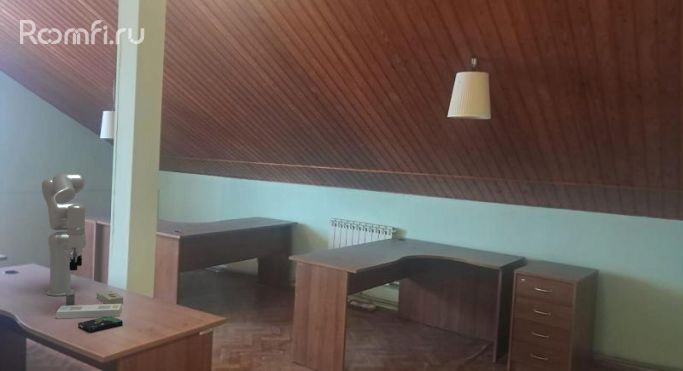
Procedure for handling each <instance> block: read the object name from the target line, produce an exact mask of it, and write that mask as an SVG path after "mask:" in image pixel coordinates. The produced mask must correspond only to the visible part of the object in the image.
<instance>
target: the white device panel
mask: <svg viewBox="0 0 683 371" xmlns="http://www.w3.org/2000/svg"><path fill="white" fill-rule="evenodd" d="M122 306H123V305H122V304H104V303H102V304H76V305H70V306H66V305H60V307H59V308H58V309H57V311H56V318H55V319H58V320H59V319H85V318H103V317H109V316H112V317H120V315H121V312H122V309H123V308H122Z"/></svg>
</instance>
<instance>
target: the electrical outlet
mask: <svg viewBox="0 0 683 371" xmlns="http://www.w3.org/2000/svg"><path fill="white" fill-rule="evenodd" d="M96 299H97V300H98V301H100V302H101V303H102V302H103V303H102V304H122V306H123V305H124V297H123V296H122V295H120V294H119V293H118V292H115V291H112V290H109V291H108V290H107V291H99V292H97V291H96Z"/></svg>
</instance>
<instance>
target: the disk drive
mask: <svg viewBox="0 0 683 371" xmlns="http://www.w3.org/2000/svg"><path fill="white" fill-rule="evenodd" d="M123 324H124V322H123V320H122V319H120V318H116V317H115V316H113V317H112V316H109V317H97V318H93V319H90V320H85V321H80V322H78V323H77V328H78V329H80V330H82V331H84V332H85V333H88V334H92V333H97V332H101V331H105V330H110V329H114V328H119V327H123Z"/></svg>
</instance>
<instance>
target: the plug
mask: <svg viewBox="0 0 683 371" xmlns="http://www.w3.org/2000/svg"><path fill="white" fill-rule="evenodd" d="M75 294H76V292H75V290H74V291H68V292H66V295H65V302H66V303H65V306H70V305H75V303H76V302H75V301H76V300H75V299H76V297H75Z"/></svg>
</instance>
